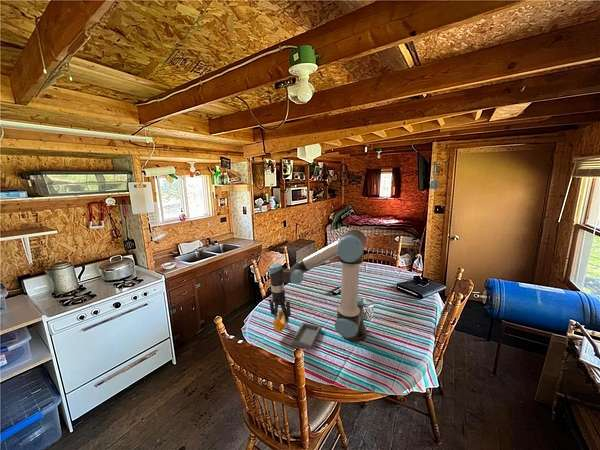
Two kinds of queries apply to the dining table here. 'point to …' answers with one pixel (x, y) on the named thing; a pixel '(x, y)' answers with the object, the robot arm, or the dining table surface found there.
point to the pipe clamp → (279, 324)
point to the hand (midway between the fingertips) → (282, 325)
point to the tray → (306, 336)
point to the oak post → (280, 314)
